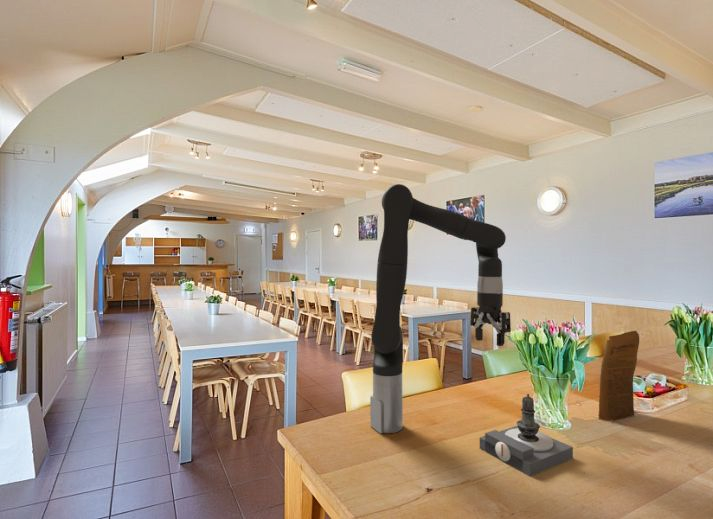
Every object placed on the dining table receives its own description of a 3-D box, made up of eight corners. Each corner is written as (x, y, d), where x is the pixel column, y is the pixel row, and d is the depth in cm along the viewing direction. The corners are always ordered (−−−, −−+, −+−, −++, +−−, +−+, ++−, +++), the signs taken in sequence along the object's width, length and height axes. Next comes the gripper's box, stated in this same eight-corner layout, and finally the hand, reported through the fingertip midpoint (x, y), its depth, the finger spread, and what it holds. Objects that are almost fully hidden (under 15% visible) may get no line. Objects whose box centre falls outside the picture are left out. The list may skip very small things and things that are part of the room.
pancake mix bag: (648, 415, 129) (647, 331, 129) (608, 425, 122) (608, 336, 122) (627, 408, 136) (627, 328, 136) (589, 417, 129) (588, 332, 129)
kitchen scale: (529, 476, 94) (528, 456, 94) (478, 448, 108) (478, 430, 108) (572, 458, 102) (572, 439, 102) (520, 434, 116) (520, 417, 116)
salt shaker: (542, 443, 102) (542, 398, 102) (518, 441, 103) (518, 396, 103) (537, 433, 108) (536, 390, 108) (514, 432, 109) (514, 389, 109)
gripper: (464, 289, 126) (464, 339, 126) (499, 293, 113) (498, 349, 113) (481, 289, 130) (481, 337, 130) (517, 292, 117) (516, 346, 117)
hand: (489, 343), depth 122 cm, fingers open, 8 cm apart
